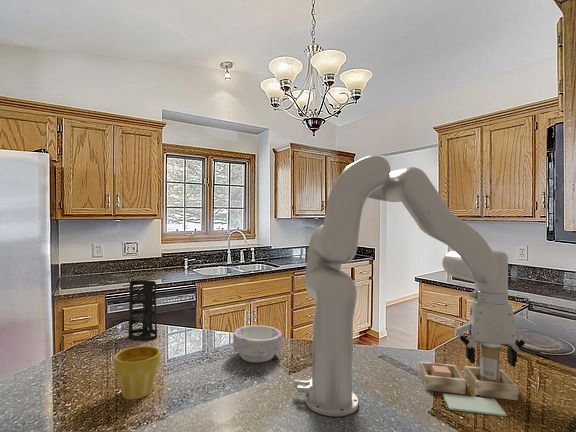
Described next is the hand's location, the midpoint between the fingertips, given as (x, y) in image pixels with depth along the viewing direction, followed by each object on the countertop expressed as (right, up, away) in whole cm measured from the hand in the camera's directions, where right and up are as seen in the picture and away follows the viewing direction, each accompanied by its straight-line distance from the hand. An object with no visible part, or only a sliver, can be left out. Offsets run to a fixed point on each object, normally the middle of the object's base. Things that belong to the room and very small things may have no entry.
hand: (490, 363), depth 91 cm
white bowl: (-63, -6, +18) cm, 66 cm away
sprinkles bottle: (0, -7, 0) cm, 7 cm away
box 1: (-12, -7, +2) cm, 14 cm away
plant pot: (-90, -5, -6) cm, 91 cm away
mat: (-9, -6, -8) cm, 14 cm away
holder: (-106, -5, +34) cm, 111 cm away
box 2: (0, -7, 0) cm, 7 cm away
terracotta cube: (-12, -7, +2) cm, 14 cm away
